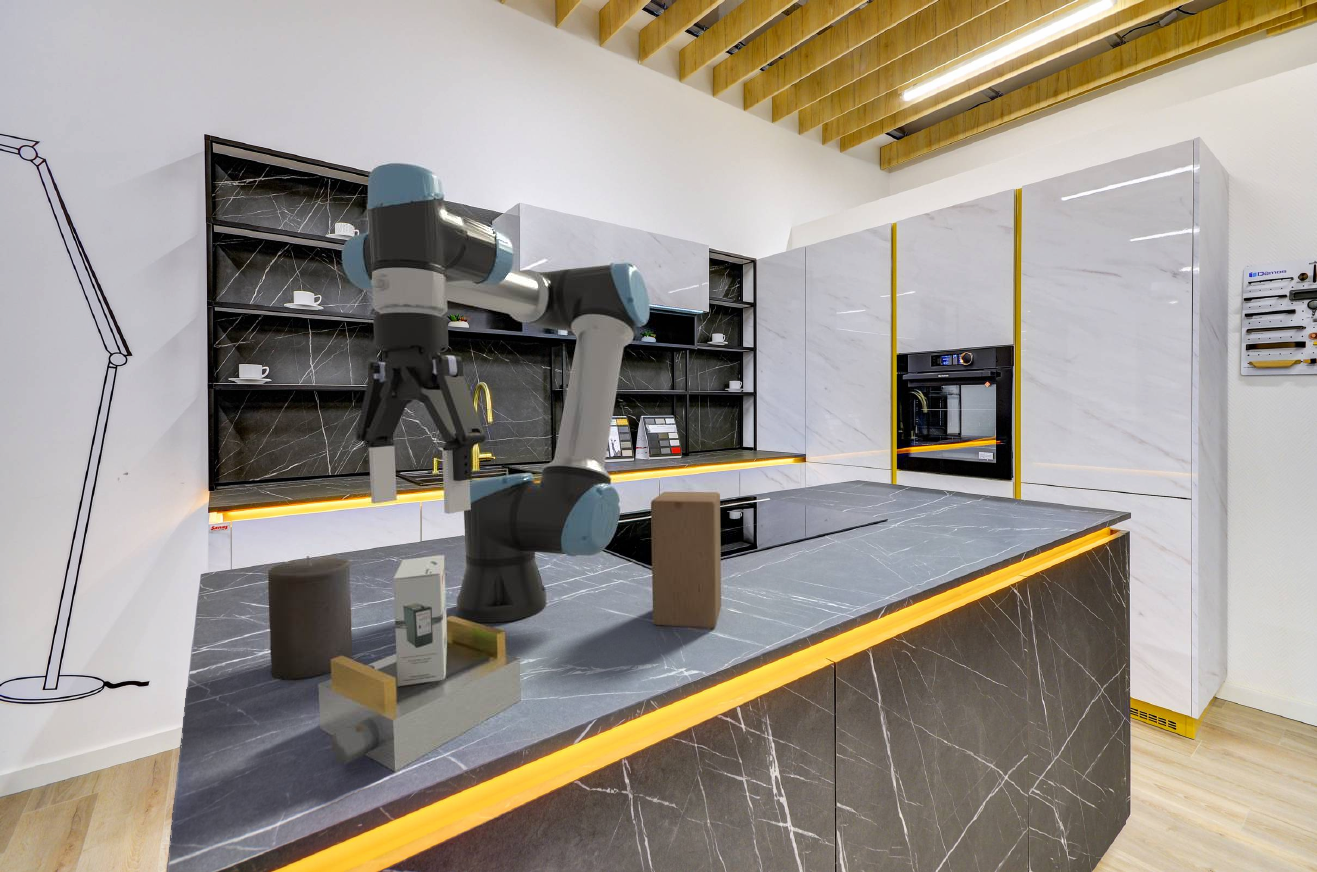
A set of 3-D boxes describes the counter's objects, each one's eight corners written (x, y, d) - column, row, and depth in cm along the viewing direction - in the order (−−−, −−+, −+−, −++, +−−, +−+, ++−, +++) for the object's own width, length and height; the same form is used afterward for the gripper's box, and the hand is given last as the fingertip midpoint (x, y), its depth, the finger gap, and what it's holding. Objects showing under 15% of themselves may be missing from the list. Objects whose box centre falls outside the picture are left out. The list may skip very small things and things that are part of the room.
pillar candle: (263, 686, 73) (259, 569, 72) (278, 656, 82) (275, 551, 81) (350, 672, 77) (347, 560, 76) (356, 644, 86) (353, 545, 85)
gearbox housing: (290, 742, 60) (286, 667, 60) (446, 671, 76) (444, 612, 76) (364, 789, 52) (360, 703, 52) (520, 699, 68) (519, 633, 68)
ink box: (404, 655, 68) (400, 557, 68) (448, 649, 70) (445, 553, 69) (395, 688, 60) (391, 576, 60) (446, 680, 62) (442, 571, 61)
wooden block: (715, 629, 89) (713, 501, 88) (652, 625, 91) (650, 500, 90) (721, 607, 99) (720, 491, 98) (664, 604, 101) (662, 491, 100)
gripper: (318, 322, 67) (327, 502, 68) (454, 296, 53) (462, 522, 55) (379, 328, 73) (386, 493, 75) (515, 307, 60) (522, 510, 61)
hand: (418, 506), depth 65 cm, fingers open, 13 cm apart
